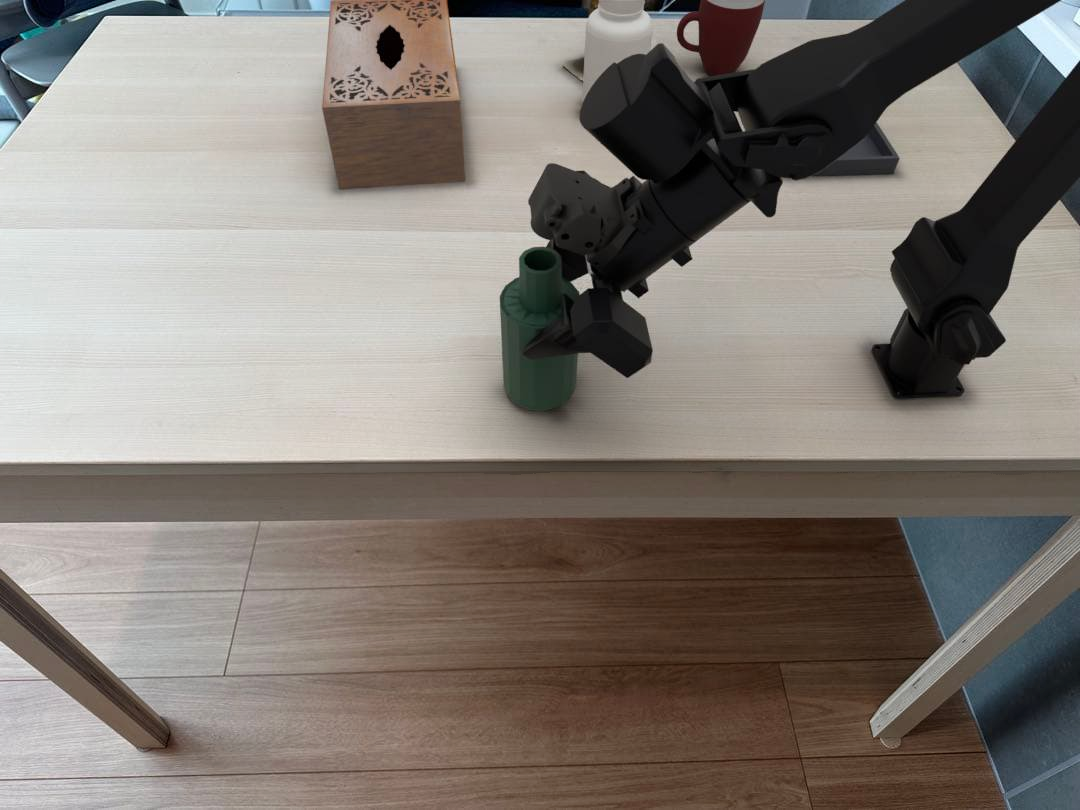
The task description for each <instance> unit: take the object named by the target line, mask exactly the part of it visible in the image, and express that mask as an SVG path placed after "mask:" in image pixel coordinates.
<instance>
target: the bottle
mask: <svg viewBox="0 0 1080 810" xmlns="http://www.w3.org/2000/svg"><path fill="white" fill-rule="evenodd" d="M518 276H519V277H515V278H513V279H512V280H511V281H509V282H508V283H507V284H505V285H504V287H503V289H502V291H501V293H500V295H499V312H500V313H499V314H500V335H501V337H500V338H501V355H502V356H501V357H502V379H503V389H504V391H505V393H506V396H507V397H508V398H509V399H510V400H511V401H512V402H513V403H514V404H515V405H517V406H519V407H521V408H524V409H527V410H530V411H548V410H553V409H555V408H559V407H560V406H562V405H564V404H565V403H567V402H568V401H569V400H570V398H572V396H573V395H574V392H575V389H576V386H577V376H578V359H579V354H571V355H564V356H557V357H550V358H543V359H536V360H529V359H527V358H526V357H524V356H523V355H522V350H523V349H524V348H525V347H526V346H527V344H528V343H529V342H530V341H531V340H532V339H533V338H534V337H536V336H537V335H538V334H539V333H540V332H541V331H542V330H543V329H544V328H546V327H547V326H548V325H549V324H550V323H551V322H552V321H553V320H554V319H556V318H557V317H558V316H559V315H560V314H561V311H562V295H563V293H565V294H566V295H568V296H569V297H571V298H572V299H573V300H576V298H577V297H578V296H579V295H580V294H581V293H580V291H579V290H578V289H577V288H576V287H575V285H574V284H573V282H569V281H567V280H566V279H564V278H562V277H561V276H562V260H561V255H560V254H558V253H557V252H556V251H555V250H554V249H551V248H547V247H546V246H534V247H530V248H528V249H525V250H524V251H523V252H522V253H521V255H520V256H519V257H518Z"/></svg>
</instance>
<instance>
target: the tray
mask: <svg viewBox="0 0 1080 810" xmlns="http://www.w3.org/2000/svg"><path fill="white" fill-rule="evenodd" d="M900 159H901V158H900V157H899V154H898V153H897V151H896V150H895V148H894V147H893V145H892V144H891V142H890V141H889V138H887V136H886V135H885V133H884V131H883V130H882V128H881V126H880V125H879V123H878V121H877V122H876V123H875V125H874V126H873V128H872V129H871V130H870V132H869V133H868V135H867V136H866V137H865V138H864V139H863V140H862V141H861V142H859V143H858V144H857V145H856V146H854V147H853V148H852V149H850V150H849V151H848V152H846V153H845V154H844V155H842V156H841V157H840V158H838V159H837V160H836V161H834V162H833V163H832V164H830V165H829V166H828V167H826V168H825V169H823V170H822V171H820V172H819V173H817V174H814V175H812V176H811V177H827V176H829V177H831V176H859V175H863V176H864V175H891V174H895V171H896V169H897V166H898V163H899V161H900Z"/></svg>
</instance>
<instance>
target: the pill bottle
mask: <svg viewBox="0 0 1080 810" xmlns="http://www.w3.org/2000/svg"><path fill="white" fill-rule="evenodd" d="M645 3H646V0H599V4H598V8H597V9H596V10H594V11H593V12H592V13H591V14H590V16H589V15H588V18H587V20H586V24H585V38H584V56H583V57H584V78H583V81H582V82H583V83H582V84H583V85H582V99H581V100H582V101H581V103H583V101H584V99H585V97H586V95H587V93H588V91H589V90H590V88H591V87H592V85H593V84H594V83H595V81H596V80H597V79H598V77H599V76H600V75H601V74H602V73H603V72H604V71H605V70H606V69H607V68H608V67H609V66H610V65H611V64H612V63H614V62H615V63H616V64H617V63H619V62H620V61H622V60H623V59H625V58H627V57H629V56H631V55H635V54H645V55H646V54H647V53H649V52H650V51H651V50H652V48H651V47H652V40H653V33H654V32H653V31H654V25H653V21H652V18H651V16H650V15H649V14H648V13H647V11H645V10H644V9H645Z"/></svg>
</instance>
